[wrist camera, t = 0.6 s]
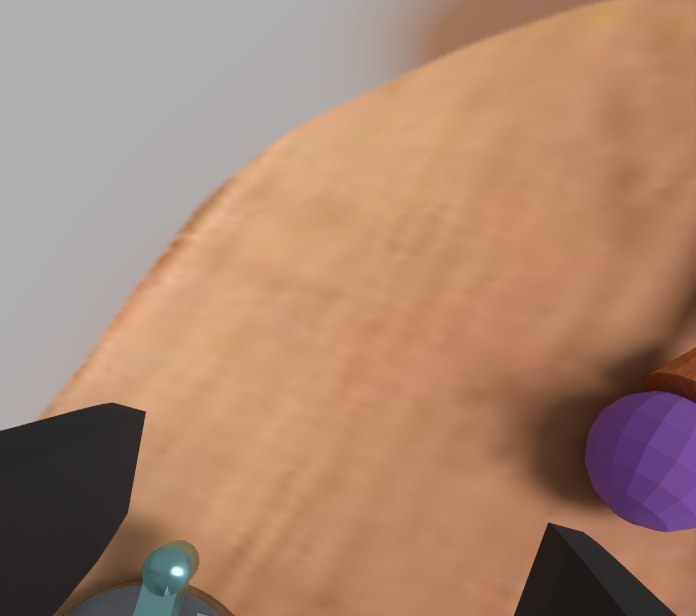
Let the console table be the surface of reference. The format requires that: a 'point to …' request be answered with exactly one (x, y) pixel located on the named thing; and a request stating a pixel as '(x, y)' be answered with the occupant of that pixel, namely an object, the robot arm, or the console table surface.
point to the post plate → (120, 601)
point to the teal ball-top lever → (167, 579)
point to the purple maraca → (649, 450)
